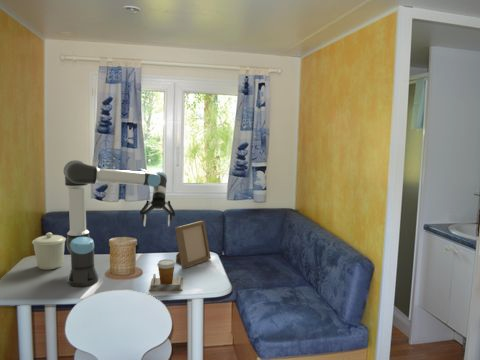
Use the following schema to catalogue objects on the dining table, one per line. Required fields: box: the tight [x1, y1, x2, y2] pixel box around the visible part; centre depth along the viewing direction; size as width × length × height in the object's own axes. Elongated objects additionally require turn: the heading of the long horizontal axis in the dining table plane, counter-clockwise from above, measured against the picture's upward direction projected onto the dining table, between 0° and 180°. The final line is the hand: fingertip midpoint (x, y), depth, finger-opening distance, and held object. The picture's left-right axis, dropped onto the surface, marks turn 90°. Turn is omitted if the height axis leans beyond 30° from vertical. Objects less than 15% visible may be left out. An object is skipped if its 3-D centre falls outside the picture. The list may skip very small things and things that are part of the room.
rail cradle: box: [148, 272, 184, 292], centre depth 212 cm, size 17×16×3 cm
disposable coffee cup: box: [156, 258, 176, 284], centre depth 212 cm, size 10×10×12 cm
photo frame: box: [174, 220, 211, 269], centre depth 248 cm, size 15×22×25 cm
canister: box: [31, 231, 67, 271], centre depth 233 cm, size 18×18×21 cm
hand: (156, 225), depth 224 cm, fingers open, 13 cm apart
